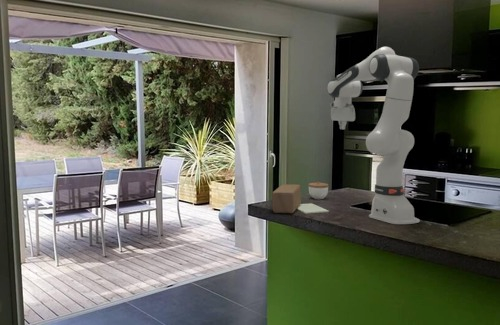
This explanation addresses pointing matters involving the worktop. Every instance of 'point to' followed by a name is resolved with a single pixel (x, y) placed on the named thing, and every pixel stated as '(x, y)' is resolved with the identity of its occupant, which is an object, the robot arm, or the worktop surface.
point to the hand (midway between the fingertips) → (342, 129)
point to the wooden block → (286, 198)
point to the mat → (310, 208)
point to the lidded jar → (318, 190)
